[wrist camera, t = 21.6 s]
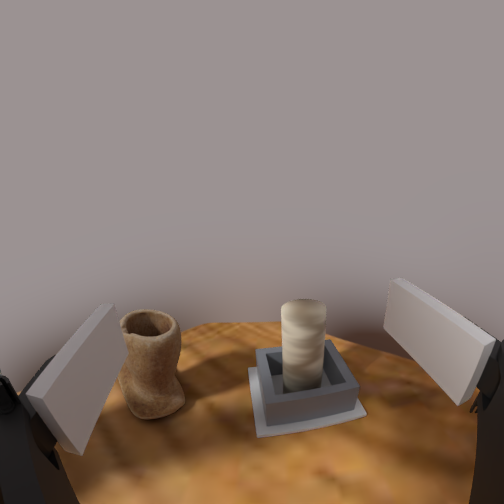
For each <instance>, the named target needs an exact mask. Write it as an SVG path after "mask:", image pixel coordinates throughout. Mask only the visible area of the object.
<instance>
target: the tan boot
mask: <svg viewBox="0 0 504 504" xmlns="http://www.w3.org/2000/svg"><path fill="white" fill-rule="evenodd" d="M120 326H121V329H122V333H123V336H124V340H125V343H126V346H127V349H128V352H129V354H128V356H127V358H126V360H125V362H124V364H123V366H122V368H121V370H120V372H119V374H118V380H119V383H120V386H121V389H122V392H123V395H124V398H125V400H126V402H127V405H128V407H129V409H130V410H131V412H132V413H133V414H134V415H135V416H136V417H138V418H140V419H156V418H160V417H165V416H167V415H170V414H172V413H174V412H176V411H177V410H178V409H179V408H180V407H182V406H183V405H184V404H185V396H184V393H183V390H182V387H181V385H180V383H179V381H178V380H177V379H176V377H175V371H176V367H177V363H178V360H179V356H180V351H181V332H180V328H179V325H178V323H177V321H176V320H175V319H174V318H173V317H171V316H170V315H168V314H166V313H164V312H161V311H155V310H146V309H144V310H136V311H132V312H130V313H128V314H126V315H125V316H124V317H123V318H122V319H121V320H120Z"/></svg>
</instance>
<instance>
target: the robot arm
mask: <svg viewBox="0 0 504 504" xmlns="http://www.w3.org/2000/svg"><path fill="white" fill-rule="evenodd" d="M383 328H384V329H385V330H386V331H387V332H388V333H389V334H390V335H391V336H392V337H393V338H394V339H395V340H396V341H397V342H398V343H399V344H400V345H401V346H402V347H403V348H404V349H405V350H406V351H407V353H409V355H411V357H412V358H413V359H414V360H415V361H416V362H417V363H418V364H419V365H420V366H421V367H422V368H423V369H424V370H425V371H426V372H427V373H428V374H429V375H430V377H431V378H432V379H433V380H434V381H435V382H436V383H437V384H438V385H439V386H440V387H441V388H442V389H443V391H444V392H445V393H446V394H447V395H448V396H449V397H450V398H451V399H452V400H453V401H454V403H455V404H456V405H457V406H459V405H461V404H462V403H464V402H466V401H467V400H469V399H470V398H471V396H472V394H473V392H474V390H475V388H476V387H477V388H478V389H479V390H480V392H479V394H478V396H477V398H476V400H475V402H474V403H473V405H472V407H471V409H470V413H472V412H473V410H474V408H475V407H476V406H477V410H476V411H475V413H478V425H477V449H476V461H475V470H474V477H473V484H472V490H471V495H470V500H469V504H504V340H503V341H502V342H500V341H499V340H497V339H496V338H495V337H493V336H492V335H490V334H489V333H488V332H486V331H485V330H483V329H482V328H479V326H477V325H476V324H473V322H471V321H470V320H469V319H467V318H466V317H463V316H462V315H460V314H459V313H457V312H456V311H454V310H453V309H451V308H449V307H448V306H446V305H445V304H443V303H441V302H440V301H439V300H437V299H436V298H434V297H432V296H431V295H429V294H428V293H426V292H424V291H423V290H421V289H420V288H418V287H416V286H415V285H413V284H412V283H410V282H408V281H407V280H405V279H403V278H397V279H391V280H390V285H389V294H388V302H387V309H386V315H385V321H384V327H383ZM128 354H129V352H128V349H127V346H126V343H125V340H124V336H123V333H122V329H121V326H120V322H119V319H118V315H117V311H116V307H115V304H100V306H99V307H98V308H97V309H96V310H95V311H94V312H93V313H92V314H91V315H90V316H89V318H88V319H87V320H86V321H85V322H84V323H83V324H82V325H81V327H80V328H79V329H78V330H77V331H76V332H75V333H74V334H73V336H72V337H71V338H70V339H69V340H68V342H67V343H66V344H65V345H64V346H63V347H62V349H61V350H60V351H59V352H58V353H57V354H56V355H54V356H53V357H51V358H50V359H48V360H47V361H46V362H45V363H44V364H43V365H42V367H41V368H40V370H38V372H37V373H36V374H35V377H33V378H32V379H31V380H30V382H29V383H28V384H27V385H26V387H25V388H24V389H23V391H22V392H21V393H20V395H19V396H18V395H17V393H16V391H15V390H14V388H13V386H12V384H11V383H10V381H9V379H8V378H7V377H6V376H2V374H1V370H0V504H80V503H79V501H78V499H77V497H76V495H75V493H74V491H73V489H72V487H71V484H70V482H69V480H68V477H67V475H66V472H65V470H64V467H63V465H62V462H61V460H60V457H59V454H58V452H57V451H56V449H55V448H54V446H55V444H56V442H58V443H59V444H60V445H61V447H62V448H63V449H64V450H65V451H66V452H70V453H73V454H77V455H80V456H82V455H83V453H84V450H85V448H86V445H87V443H88V441H89V438H90V436H91V433H92V431H93V429H94V426H95V424H96V422H97V419H98V417H99V415H100V413H101V410H102V408H103V406H104V404H105V402H106V399H107V397H108V395H109V393H110V391H111V389H112V387H113V384H114V382H115V380H116V378H117V376H118V374H119V372H120V370H121V368H122V366H123V364H124V362H125V360H126V358H127V356H128Z"/></svg>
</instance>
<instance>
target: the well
mask: <svg viewBox="0 0 504 504" xmlns="http://www.w3.org/2000/svg"><path fill="white" fill-rule="evenodd" d="M256 365H257V367H250V368H248V374H249V382H250V390H251V397H252V405H253V412H254V419H255V427H256V434H257V438H261V437H269V436H277V435H284V434H290V433H296V432H302V431H308V430H313V429H318V428H322V427H327V426H331V425H335V424H339V423H343V422H347V421H351V420H355V419H358V418H362V417H365V416H366V415H367V413H366V411H365V410H364V408H363V406H362V404H361V403H360V401H359V399H358V398H357V397H358V393H359V389H360V386H359V384H358V382H357V381H356V379H355V378H354V376H353V374H352V373H351V371H350V370H349V368H348V366H347V365H346V363H345V362H344V360H343V358H342V357H341V355H340V354H339V352H338V351H337V349H336V347H335V346H334V344H333V343H332V341H331V340H330V339H329V340H325V346H324V360H323V372H322V383H321V388H317V389H311V390H305V391H299V392H293V393H286V394H283V360H282V347H273V348H264V349H256Z"/></svg>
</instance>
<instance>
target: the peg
mask: <svg viewBox="0 0 504 504" xmlns="http://www.w3.org/2000/svg"><path fill="white" fill-rule="evenodd" d="M281 319H282V360H283V394H286V393H293V392H299V391H305V390H311V389H317V388H321V383H322V372H323V360H324V346H325V329H326V306H325V305H324V304H323V303H322V302H320V301H316V300H311V299H299V300H293V301H290V302H287V303H285V304H284V305H283V306H282V307H281Z"/></svg>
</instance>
